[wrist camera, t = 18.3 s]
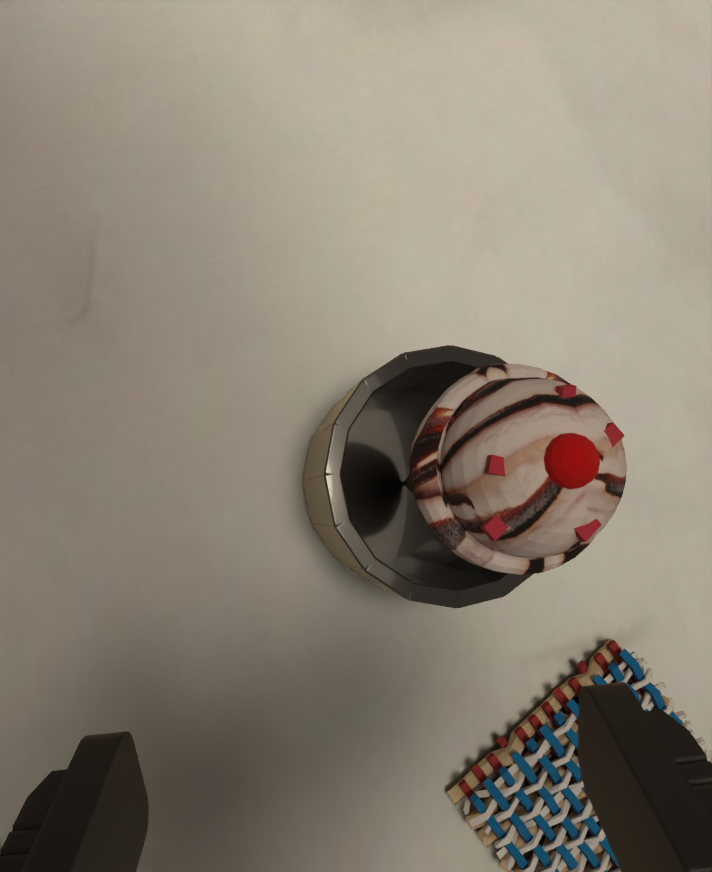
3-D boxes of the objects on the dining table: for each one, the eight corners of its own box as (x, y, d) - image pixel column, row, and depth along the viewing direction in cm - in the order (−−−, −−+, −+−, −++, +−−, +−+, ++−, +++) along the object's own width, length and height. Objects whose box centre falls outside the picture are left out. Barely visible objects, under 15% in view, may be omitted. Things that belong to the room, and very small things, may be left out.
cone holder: (284, 566, 28) (303, 582, 22) (324, 361, 30) (352, 320, 23) (484, 600, 30) (554, 625, 24) (514, 404, 31) (588, 377, 25)
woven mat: (607, 623, 31) (633, 631, 29) (740, 805, 31) (775, 825, 29) (435, 782, 29) (451, 803, 27) (581, 976, 29) (607, 1011, 27)
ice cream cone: (408, 391, 30) (591, 277, 15) (493, 488, 30) (754, 468, 15) (312, 479, 28) (410, 447, 14) (402, 578, 29) (590, 651, 14)
